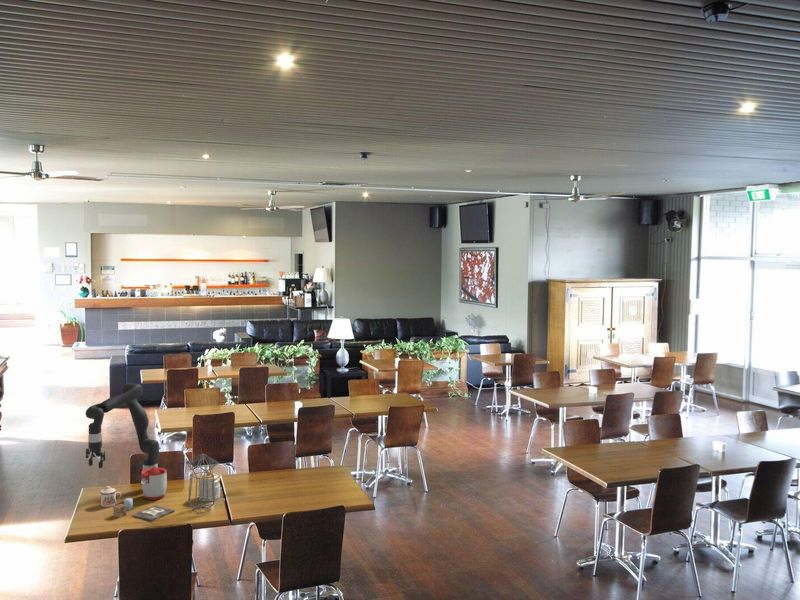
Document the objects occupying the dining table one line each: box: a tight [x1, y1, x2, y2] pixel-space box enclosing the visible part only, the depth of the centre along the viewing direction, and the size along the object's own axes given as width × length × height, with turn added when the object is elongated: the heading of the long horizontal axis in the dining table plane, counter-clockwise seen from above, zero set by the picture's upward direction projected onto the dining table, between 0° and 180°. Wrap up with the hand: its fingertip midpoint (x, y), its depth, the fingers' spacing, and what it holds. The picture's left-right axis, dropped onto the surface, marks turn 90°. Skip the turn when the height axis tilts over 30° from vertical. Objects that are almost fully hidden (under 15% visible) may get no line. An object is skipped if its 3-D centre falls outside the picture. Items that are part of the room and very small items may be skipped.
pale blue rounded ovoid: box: [123, 497, 134, 512], centre depth 446 cm, size 5×5×6 cm
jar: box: [199, 470, 221, 502], centre depth 467 cm, size 13×13×18 cm
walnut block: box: [112, 503, 127, 519], centre depth 435 cm, size 5×5×6 cm
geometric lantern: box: [185, 453, 220, 514], centre depth 446 cm, size 16×16×35 cm
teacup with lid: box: [100, 485, 122, 508], centre depth 453 cm, size 12×9×12 cm
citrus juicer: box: [140, 467, 168, 501], centre depth 466 cm, size 16×17×20 cm
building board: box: [131, 504, 176, 522], centre depth 439 cm, size 18×16×2 cm
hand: (95, 466), depth 439 cm, fingers open, 8 cm apart
